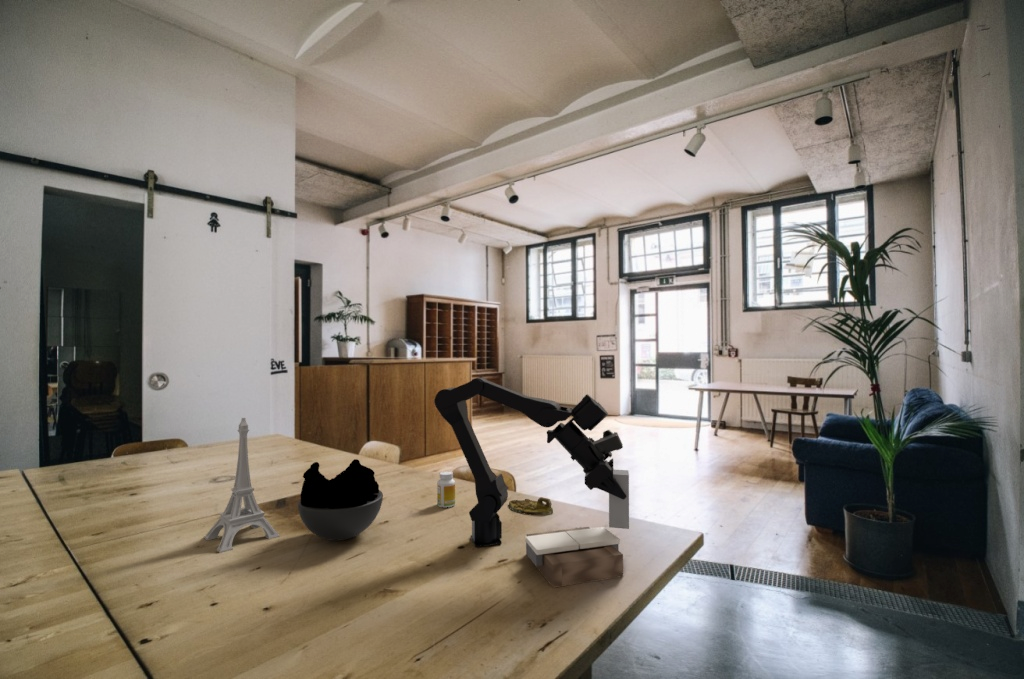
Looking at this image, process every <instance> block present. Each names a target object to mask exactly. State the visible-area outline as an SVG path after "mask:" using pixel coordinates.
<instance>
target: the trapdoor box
mask: <svg viewBox="0 0 1024 679" xmlns="http://www.w3.org/2000/svg"><path fill="white" fill-rule="evenodd" d="M590 528H591V527H589V526H586V527H585V526H583V527H576V528H568V529H567V528H566V529H559V530H551V531H542V532H534V533H527V534H526V536H533V535H542V534H550V533H558V532H566V531H574V530H582V529H590ZM542 562H543V565H542V566H535V567H536V568H537V569H538V571H539V572H540V573H541V575H542V576H543V577H544V579H545V580H546V581H547V582H548V584H549V585H550V586H551V587H552V588H558V587H564V586H571V585H576V584H577V585H578V584H583V583H591V582H597V581H602V580H604V581H605V580H609V579H616V578H621V577H624V554H623V553H622V552H621V551H618V550H617V549H616V548H614V547H613V546H612V545H606V546H599V547H592V548H584V549H577V550H570V551H562V552H555V553H548V554H542Z"/></svg>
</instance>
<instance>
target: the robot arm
mask: <svg viewBox="0 0 1024 679" xmlns="http://www.w3.org/2000/svg"><path fill="white" fill-rule="evenodd" d="M476 396H481V397H484V398H485V399H488V400H491V401H494V402H496V403H498V404H501V405H503V406H505V407H509V408H511V409H513V410H515V411H518V412H521V414H523V415H524V416H526V417H527V418H529V419H530V420H531V421H532V422H534V423H536V424H537V425H539V426H540V427H543V428H551V427H553V426H555V425H556V424H557V423H559V424H557V426H556V427H554V429H548V430H547V431H546V436H547V438H546V442H547V444H550V443H551V442H553V440H554V439H555V440H556V441H557V442H558V443H559V444H560V445H561V446H562V447H563V448H564V449H565V451H567V453H568V454H570V459H571V460H572V461H573V462H574V461H575V462H577V463H578V465H580V466H581V468H582V469H583V470H582V472H583V473H584V474H585V475H584V484H585V486H586V488H588V489H589V490H590V491H592V490H594V489H597V490H601V491H603V492H605V493H608V494H609V493H610V494H612V495H614V496H616V497H619V498H621V499H625V498H626V497H627V496H626V494H625V493H624V491H623V490H622V488H621V487H620V485H619V484H618V482H617V481H616V479H615V478H614V476H613V470H615V469H614V458H613V453H612V452H614V451H619V450H622V449H623V448H624V446H623V442H622V440H621V438H620V436H619V434H618V432H615V431H614V432H612V431H611V430H610V429H607V430H604V431H603V432H602V434H603V435H602V437H600V438H598V439H597V440H595V439H594V438H593V437H588V436H587V435H586V434H585V433H584V432H583V431H587V430H589V431H592V430H593V429H595V428H596V427H597V426H598V425H599V424H600V423H601V422H602V421H603V420H604V419H605V418H606V417H608V416H609V413H608V412H607V410H606V409H605V408H604V406H602V404H601V403H600V402H598V401H596V399H594V398H593V397H592V396H591V395H589V394H588V393H586V394H585V395H584V396H583V397H582V398H581V400H580V401H579V402H578V403H577V404H576V405H574V407H573V408H572V407H567V406H560V404H559V403H558V402H557V401H555V400H550V399H545V398H543V397H542V398H540V397H534V396H528V395H525V394H522V393H521V392H518V391H515V390H512V389H510V388H507V387H505V386H503V385H501V384H498V383H495V382H493V381H490V380H487V378H485V377H477V378H473V379H472V380H470V381H468V382H466V383H463V384H462V385H459V386H456V387H449V388H443V389H441V390H439V391H438V392H436V394H435V396H434V397H435V398H434V400H433V401H434V402H433V403H434V406H435V408H436V409H437V411H438V412H439V414H440V416H441V417H442V418H443V419H444V421H446V422H447V423H448V424H449V426H451V428H452V430H453V433H454V435H455V437H456V440H457V442H458V444H459V446H460V449H461V451H462V454H463V455H464V458H465V460H466V463H467V465H468V467H469V469H470V472H471V474H472V476H473V480H474V488H475V495H476V499H477V503H476V504H474V506H473V507H472V508H471V510H470V511H469V512H468V514H469V517H470V520H471V535H470V536H469V537H470V540H471V542H472V544H473V545H474V547H475V548H480V547H488V546H495V545H502V540H501V539H502V537H503V536H502V534H503V532H502V531H503V529H502V526H503V524H502V521H501V520H500V515H499V514H498V512H499V511H500V510H501V508H502V507H503V506H504V505H505V504H506V502H507V500H508V497H509V493H508V489H509V486H508V485H507V484H506V482H505V480H504V476H503V474H502V473H499V474H498V475H497V474H496V473H494V472H493V470H492V469H491V467H490V465H489V462H488V461H487V458H486V456H485V452H483V451H484V450H483V449H482V446H481V444H480V442H479V440H478V438H477V435H476V433H475V431H474V429H473V427H472V426H473V425H472V424H471V422H470V420H469V411H468V404H467V401H469V400H471V399H472V398H474V397H476ZM570 416H571V418H570ZM568 418H570V419H569V420H568ZM566 420H568V421H567V422H566V423H563V422H564V421H566ZM575 423H576V424H577V425H576V424H575ZM611 457H612V458H611ZM608 458H611V459H610V460H609V461H608V460H607V459H608Z"/></svg>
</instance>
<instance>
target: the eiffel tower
mask: <svg viewBox="0 0 1024 679" xmlns="http://www.w3.org/2000/svg"><path fill="white" fill-rule="evenodd" d="M249 431H250V429H249V425H248V423H247V420H246V417H241V420H240V422H239V424H238V429H237V432H238V433H239V436H238V437H239V440H238V441H239V442H238V453H237V455H238V456H237V464H236V471H235V477H234V484H233V487H231V488H230V490H231V492H232V493H231V495H230V497H229V500H228V502H227V504H226V507H225V508H224V511H223V512H219V516H220V517H219V518H218V519H217V521H215V523H214V524H213V525H212V526H211V528H210V529H209V531H208V532H207V533H206V534H205V536H203V538H204V539H205V540H206V541H209V540H215V539H218V538H220V535H219V534H220V532H221V531H222V529H223V532H222V536H221V540H220V543H219V545H218V547H217V548H216V551H217V552H219V554H221V553H225V552H229V551H231V550H232V551H233V549H234V548H233V547H232V546H233V540H234V538H235V536H236V535H237V533H238V532H239V531H240V530H241V529H243V528H244V527H247V526H250V527H251V528H252V529H257V528H261V529H262V530H263V531H264V533H265V535H264V538H266V539H268V540H272V539H276V538H280V537H281V535H280V534H279V533H278V532H277V530H275V529H274V527H273V526H272V524H270V522H269V521H268V519H267V518H266V517H265V514H266V513H265V511H263V510H262V509H261V508H260V507H259V505H258V503H257V499H256V497H255V495H254V492H253V491H255V488H254V487H253V486H252V482H251V480H252V479H251V474H250V466H249V454H248V433H249ZM242 502H243V503H242ZM242 504H243V505H244V507H242Z"/></svg>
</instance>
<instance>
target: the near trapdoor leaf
mask: <svg viewBox="0 0 1024 679" xmlns="http://www.w3.org/2000/svg"><path fill="white" fill-rule="evenodd" d="M524 538H525V540H524V541H525V554H526V556H527V557H528V558H529V560H531V561H532V564H534V566H535V567H536V566H542V565H543V562H542V554H548V553H555V552H562V551H570V550H577V549H579V544H578V543H577V542H576V541H574V540H573V539H572V538H571V537H570V536H569V535H568V534H567V533H566V532H558V533H550V534H542V535H533V536H527V535H526V536H524Z"/></svg>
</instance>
